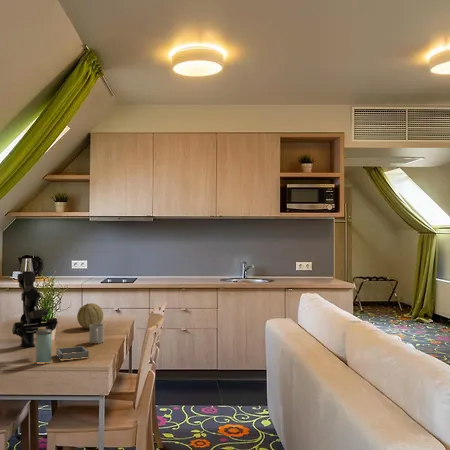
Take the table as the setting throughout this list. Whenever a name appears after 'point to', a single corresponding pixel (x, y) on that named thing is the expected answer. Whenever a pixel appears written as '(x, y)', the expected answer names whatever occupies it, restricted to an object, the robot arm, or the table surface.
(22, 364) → the table surface
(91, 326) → the cup
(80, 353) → the grey square tray
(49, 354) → the canister
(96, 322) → the seamed olive ball
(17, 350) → the table surface
